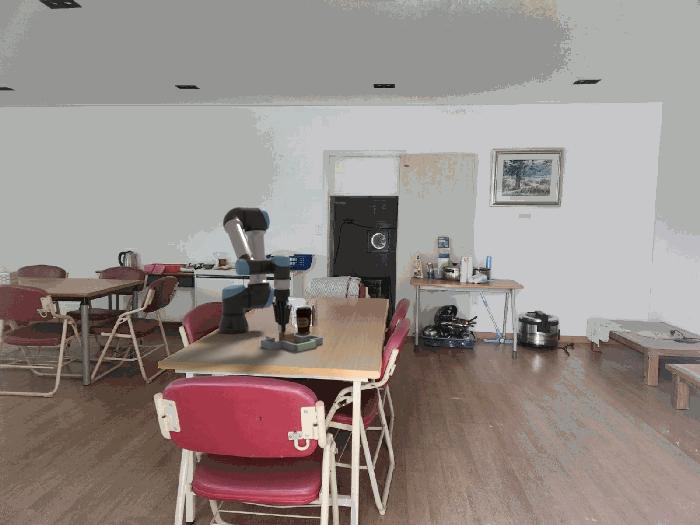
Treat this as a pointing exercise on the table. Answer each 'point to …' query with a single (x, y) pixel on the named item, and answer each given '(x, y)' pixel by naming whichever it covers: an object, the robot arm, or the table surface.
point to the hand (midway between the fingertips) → (282, 338)
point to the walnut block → (286, 336)
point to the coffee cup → (303, 319)
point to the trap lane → (305, 341)
